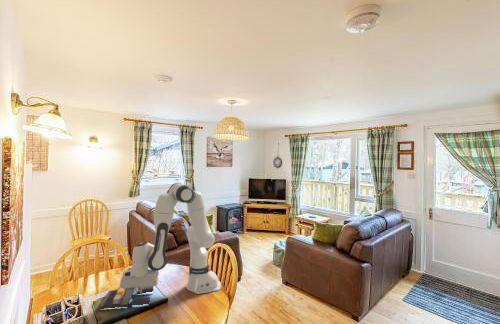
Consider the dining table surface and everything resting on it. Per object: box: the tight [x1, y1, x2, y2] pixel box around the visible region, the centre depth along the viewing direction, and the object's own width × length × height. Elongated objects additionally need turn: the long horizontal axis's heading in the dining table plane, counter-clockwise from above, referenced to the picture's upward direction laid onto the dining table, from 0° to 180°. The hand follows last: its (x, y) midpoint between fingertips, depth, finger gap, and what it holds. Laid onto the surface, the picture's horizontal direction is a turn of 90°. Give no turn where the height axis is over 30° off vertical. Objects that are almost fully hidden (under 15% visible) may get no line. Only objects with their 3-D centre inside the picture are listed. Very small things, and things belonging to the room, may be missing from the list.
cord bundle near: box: [131, 296, 151, 306], centre depth 138 cm, size 9×3×4 cm, turn 101°
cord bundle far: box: [137, 286, 154, 293], centre depth 150 cm, size 9×3×4 cm, turn 109°
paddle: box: [116, 289, 124, 297], centre depth 141 cm, size 3×4×3 cm
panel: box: [98, 286, 135, 309], centre depth 141 cm, size 14×16×6 cm
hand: (138, 293), depth 143 cm, fingers closed
